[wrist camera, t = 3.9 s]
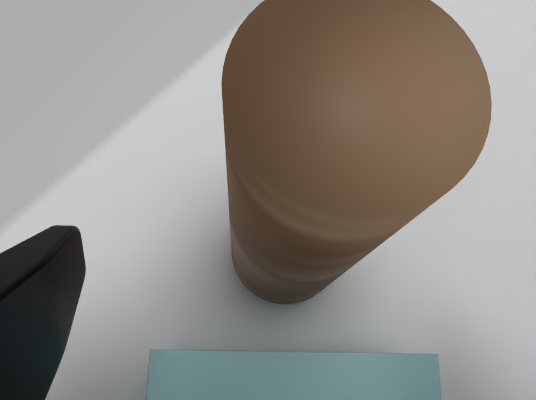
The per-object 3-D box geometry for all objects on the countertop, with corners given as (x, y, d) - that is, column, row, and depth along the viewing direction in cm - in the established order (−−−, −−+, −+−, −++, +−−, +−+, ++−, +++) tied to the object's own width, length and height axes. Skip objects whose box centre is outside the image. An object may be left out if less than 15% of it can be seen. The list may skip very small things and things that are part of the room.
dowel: (355, 230, 19) (528, 46, 8) (307, 324, 18) (428, 270, 7) (264, 181, 20) (301, -64, 8) (211, 270, 18) (168, 130, 7)
